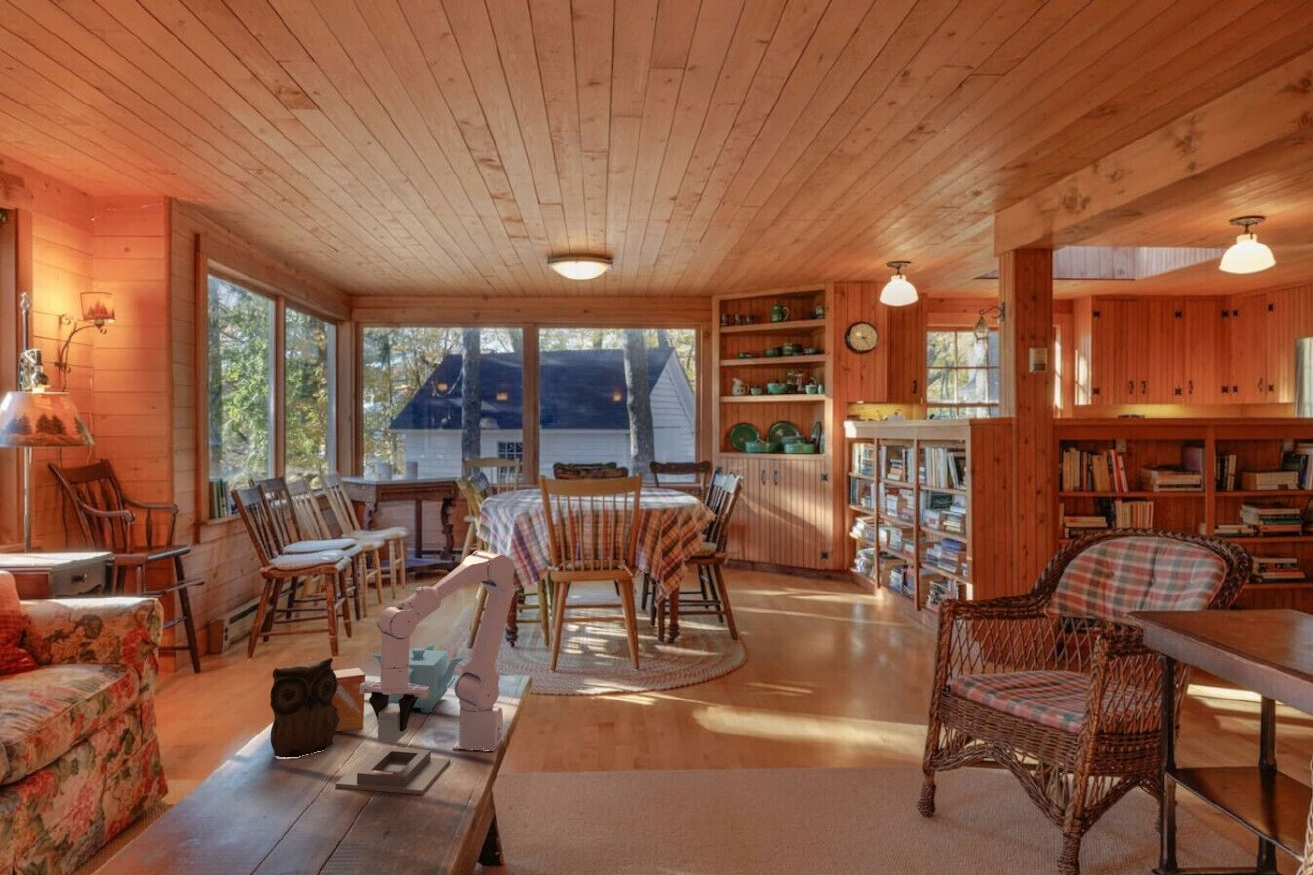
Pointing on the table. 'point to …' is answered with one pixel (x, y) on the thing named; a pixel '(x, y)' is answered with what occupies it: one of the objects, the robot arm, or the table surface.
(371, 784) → the chassis
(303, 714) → the owl
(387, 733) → the block
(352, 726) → the small box
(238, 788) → the table surface
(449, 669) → the teakettle
